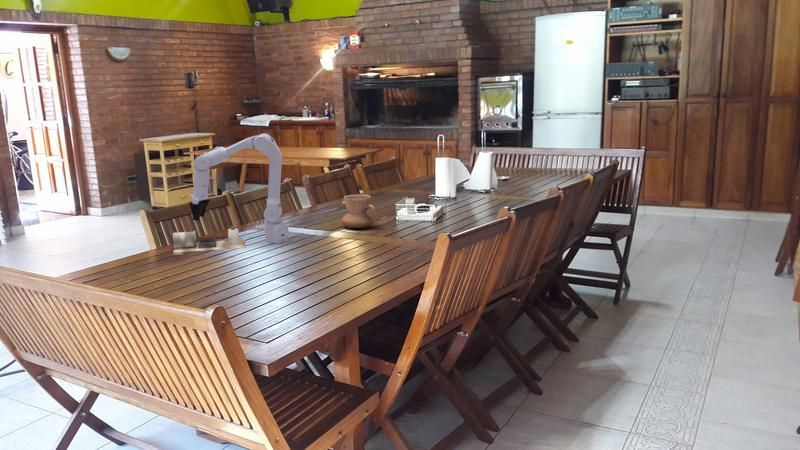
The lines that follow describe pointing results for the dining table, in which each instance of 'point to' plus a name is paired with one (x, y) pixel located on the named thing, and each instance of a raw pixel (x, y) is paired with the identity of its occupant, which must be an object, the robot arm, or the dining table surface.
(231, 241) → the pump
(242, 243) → the motor mount
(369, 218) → the ceramic jug
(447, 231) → the dining table surface
